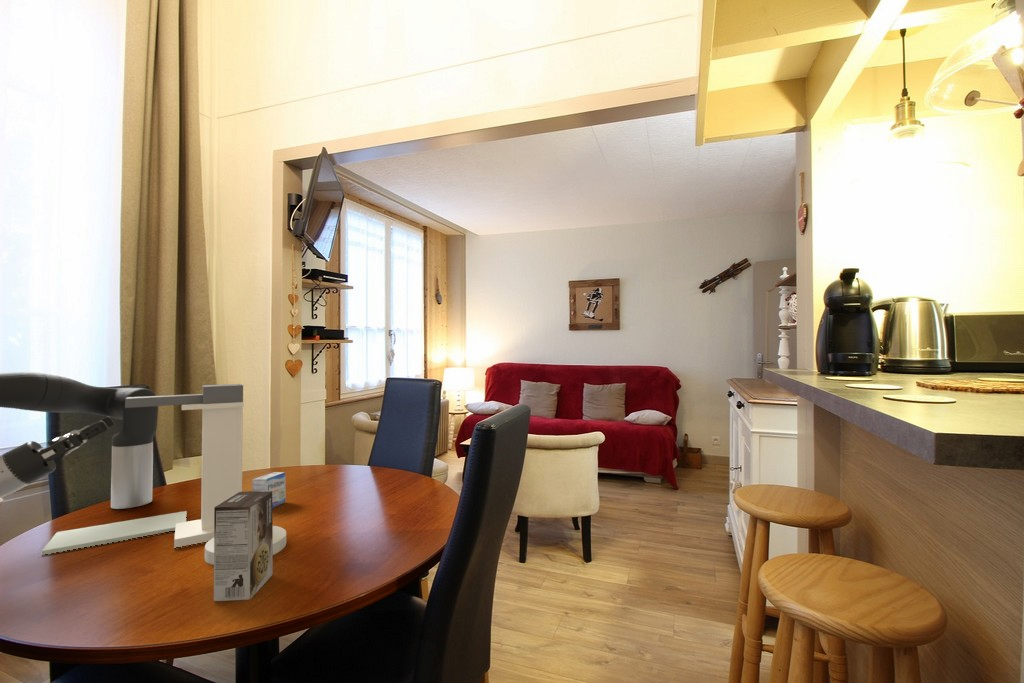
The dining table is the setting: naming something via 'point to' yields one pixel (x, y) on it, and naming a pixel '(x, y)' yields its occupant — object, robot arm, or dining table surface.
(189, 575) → the dining table surface
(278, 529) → the roll of tape
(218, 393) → the gray flanged block
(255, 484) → the medicine box
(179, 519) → the mat
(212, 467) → the white flanged bar
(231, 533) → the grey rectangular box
